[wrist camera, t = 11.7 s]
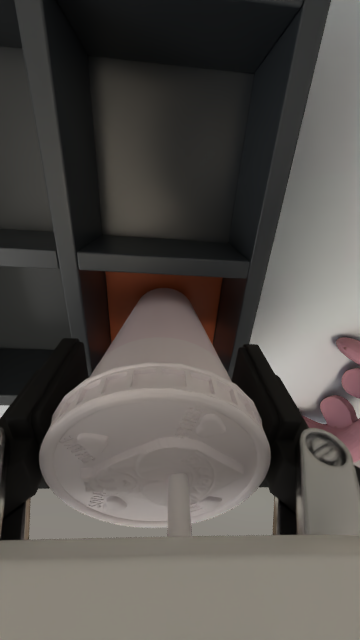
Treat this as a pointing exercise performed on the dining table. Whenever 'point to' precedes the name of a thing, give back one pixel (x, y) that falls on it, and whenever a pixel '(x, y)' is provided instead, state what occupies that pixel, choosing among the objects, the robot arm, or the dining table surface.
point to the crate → (142, 163)
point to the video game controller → (344, 404)
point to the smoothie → (156, 427)
